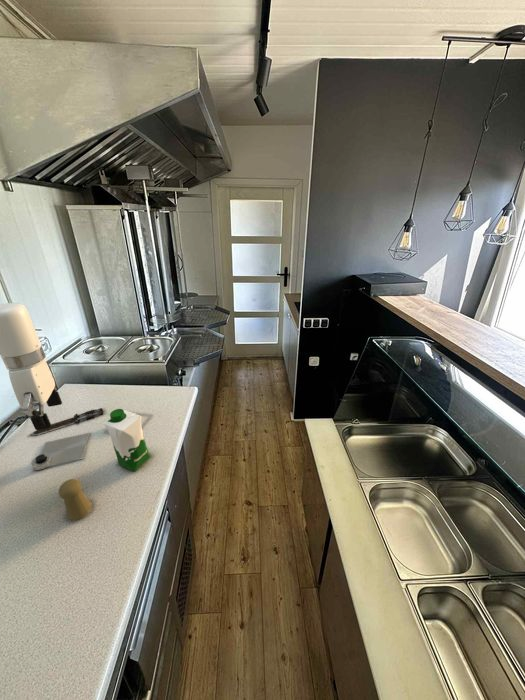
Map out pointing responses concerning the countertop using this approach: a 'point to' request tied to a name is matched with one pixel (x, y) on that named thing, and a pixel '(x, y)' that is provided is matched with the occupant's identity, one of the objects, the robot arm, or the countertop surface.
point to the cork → (74, 499)
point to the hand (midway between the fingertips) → (50, 415)
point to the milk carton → (127, 438)
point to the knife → (68, 422)
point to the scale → (62, 451)
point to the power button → (40, 458)
